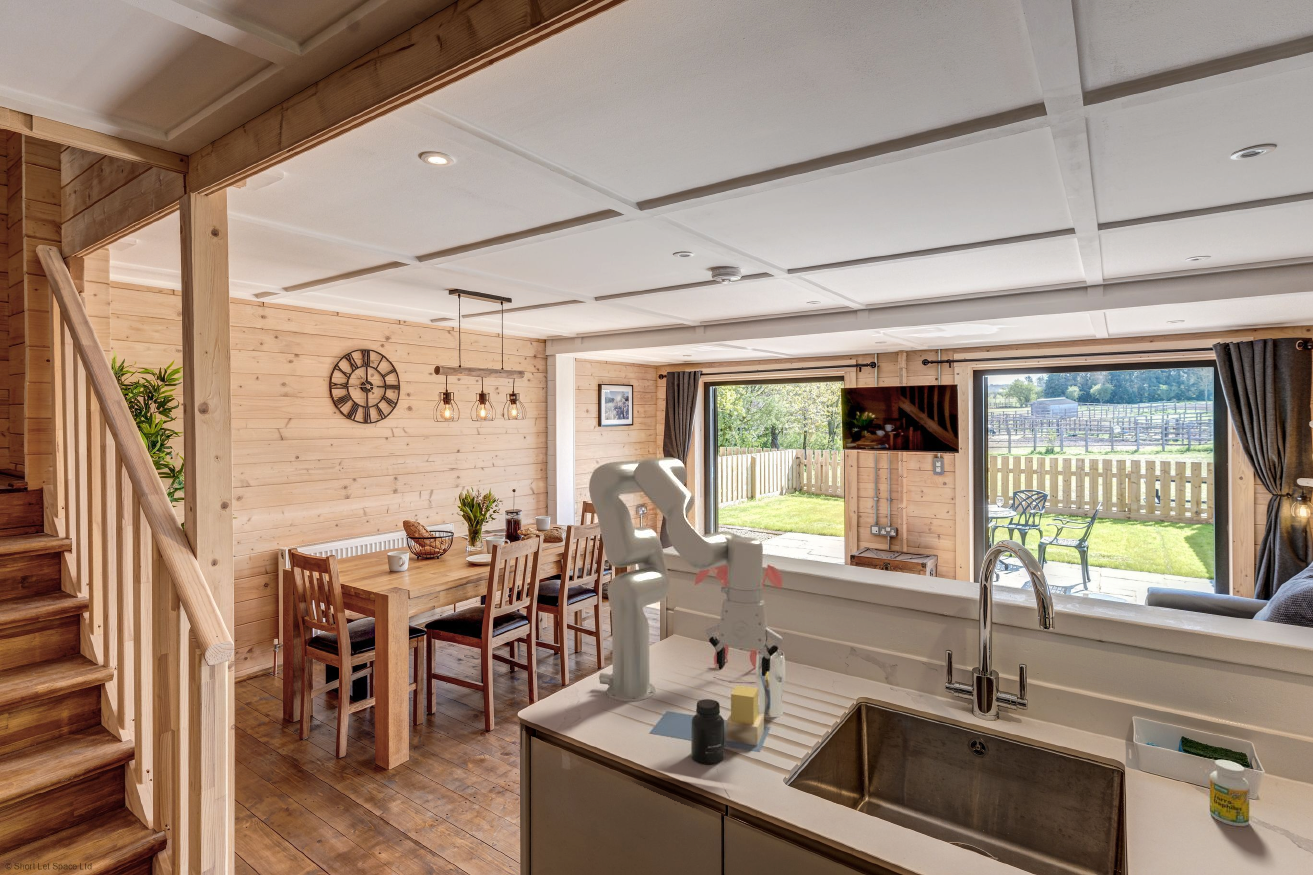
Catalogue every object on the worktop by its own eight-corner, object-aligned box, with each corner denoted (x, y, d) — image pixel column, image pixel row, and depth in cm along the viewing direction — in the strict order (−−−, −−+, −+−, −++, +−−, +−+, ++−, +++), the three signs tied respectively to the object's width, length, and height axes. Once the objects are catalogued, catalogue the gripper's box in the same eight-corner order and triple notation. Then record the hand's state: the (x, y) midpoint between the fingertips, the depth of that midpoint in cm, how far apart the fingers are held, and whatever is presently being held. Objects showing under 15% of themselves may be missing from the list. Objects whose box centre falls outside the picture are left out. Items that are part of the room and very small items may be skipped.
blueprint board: (648, 736, 151) (648, 733, 151) (666, 714, 163) (666, 710, 163) (759, 755, 143) (759, 751, 143) (770, 730, 154) (770, 727, 154)
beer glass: (785, 722, 158) (785, 659, 157) (754, 720, 159) (754, 657, 159) (785, 709, 165) (785, 648, 164) (756, 707, 166) (756, 647, 166)
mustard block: (730, 720, 148) (730, 693, 148) (736, 711, 153) (736, 685, 153) (753, 724, 146) (753, 697, 146) (758, 714, 151) (758, 688, 151)
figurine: (700, 656, 201) (699, 539, 199) (787, 669, 191) (787, 546, 189) (682, 675, 187) (681, 550, 185) (774, 690, 177) (774, 558, 175)
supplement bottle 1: (714, 772, 136) (714, 713, 136) (685, 763, 140) (685, 705, 139) (729, 757, 142) (729, 701, 142) (701, 749, 146) (700, 694, 145)
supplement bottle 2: (1250, 818, 120) (1251, 764, 119) (1247, 831, 116) (1249, 776, 116) (1211, 805, 124) (1212, 754, 123) (1207, 818, 120) (1208, 765, 119)
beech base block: (725, 740, 148) (725, 722, 148) (733, 726, 154) (733, 709, 154) (757, 745, 145) (757, 727, 145) (763, 731, 152) (763, 713, 152)
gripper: (701, 594, 148) (700, 671, 149) (780, 603, 142) (779, 683, 143) (711, 585, 155) (709, 659, 156) (786, 594, 149) (785, 670, 150)
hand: (742, 670), depth 150 cm, fingers open, 9 cm apart
